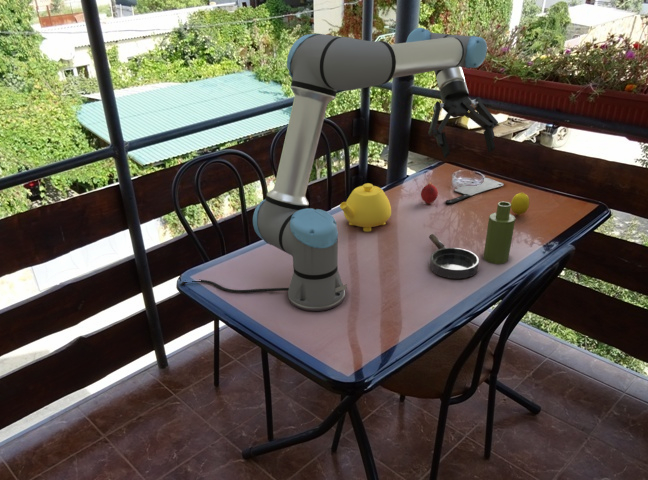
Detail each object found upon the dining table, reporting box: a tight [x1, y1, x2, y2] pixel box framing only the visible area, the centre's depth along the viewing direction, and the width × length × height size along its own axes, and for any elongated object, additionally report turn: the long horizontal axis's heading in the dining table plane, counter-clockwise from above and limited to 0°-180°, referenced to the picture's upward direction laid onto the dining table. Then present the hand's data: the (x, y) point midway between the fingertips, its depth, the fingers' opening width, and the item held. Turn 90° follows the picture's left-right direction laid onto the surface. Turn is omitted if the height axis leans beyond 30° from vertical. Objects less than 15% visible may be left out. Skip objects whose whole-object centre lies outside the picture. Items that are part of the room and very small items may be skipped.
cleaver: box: [445, 177, 504, 205], centre depth 205 cm, size 29×1×10 cm
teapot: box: [339, 182, 392, 232], centre depth 182 cm, size 20×16×14 cm
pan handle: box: [428, 233, 447, 250], centre depth 167 cm, size 2×10×2 cm, turn 10°
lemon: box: [510, 192, 530, 216], centre depth 184 cm, size 6×6×8 cm
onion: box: [420, 181, 439, 205], centre depth 196 cm, size 6×6×8 cm
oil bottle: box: [482, 201, 516, 265], centre depth 158 cm, size 7×7×17 cm
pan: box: [429, 247, 480, 280], centre depth 158 cm, size 13×13×3 cm
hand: (469, 153), depth 158 cm, fingers open, 13 cm apart
